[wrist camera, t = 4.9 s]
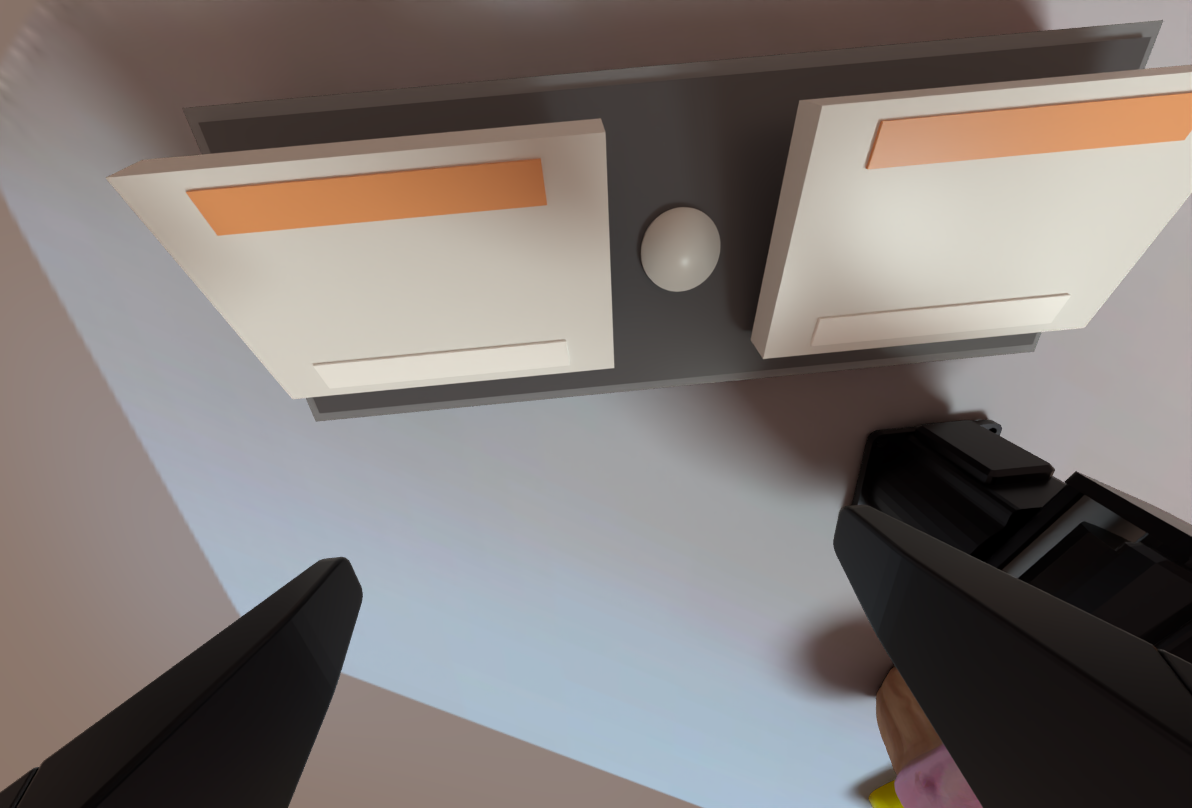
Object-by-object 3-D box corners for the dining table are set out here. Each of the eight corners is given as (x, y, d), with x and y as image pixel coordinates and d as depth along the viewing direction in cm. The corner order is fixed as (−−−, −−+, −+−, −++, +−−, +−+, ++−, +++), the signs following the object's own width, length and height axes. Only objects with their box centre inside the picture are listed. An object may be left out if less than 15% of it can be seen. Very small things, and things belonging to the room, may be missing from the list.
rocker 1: (610, 346, 15) (614, 370, 14) (306, 375, 15) (291, 401, 14) (600, 118, 10) (605, 133, 9) (141, 160, 10) (102, 179, 9)
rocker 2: (1052, 310, 15) (1087, 329, 14) (750, 340, 15) (764, 360, 14) (1231, 60, 11) (1300, 62, 10) (799, 100, 10) (824, 106, 9)
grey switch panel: (968, 330, 19) (1044, 355, 16) (352, 389, 19) (309, 426, 16) (1055, 53, 15) (1181, 14, 12) (255, 125, 14) (169, 105, 11)
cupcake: (991, 653, 30) (1171, 847, 21) (917, 722, 33) (1045, 914, 24) (887, 635, 28) (1033, 835, 19) (821, 709, 32) (920, 908, 23)
